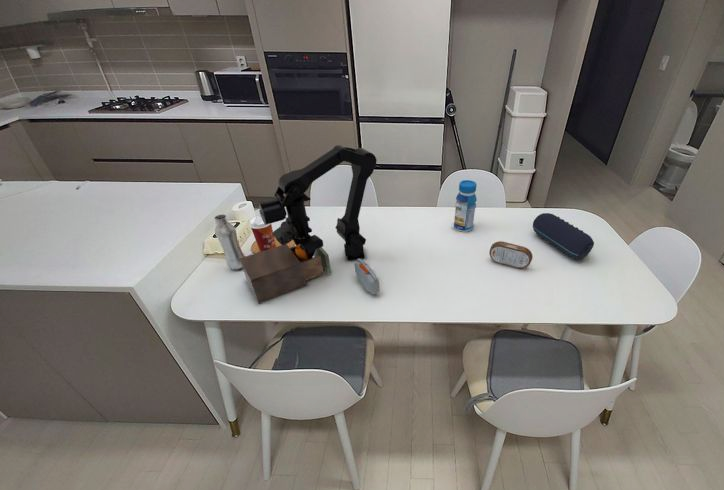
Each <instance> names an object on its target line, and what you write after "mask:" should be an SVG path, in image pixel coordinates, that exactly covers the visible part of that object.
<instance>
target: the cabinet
mask: <svg viewBox="0 0 724 490" xmlns="http://www.w3.org/2000/svg"><path fill="white" fill-rule="evenodd" d="M290 248H291V247H289V245H288V244H285V245H281V244H280V245H278V246H276V247H275V248H271V249H268V250H265V251H262V252H260V251H259V252H255V253H253V254H249V255H246V256H245V257H243V258H239V259H240V262H241V265H242V268H241V269H242V270H243V273H244V276H245V279H246V282H247V284H248V286H249V287H250V289H251V292H252V293H253V296H254V298H255V299H256V302H257V304H262V303H265V302H267V301H269V300H272V299H276V298H278V297H281V296H282V295H285V294H288V293H291V292H295V291H296V290H299V289H302V288H304V287H306V286H307V285H306V280H305V279H304V275H303V271H302V266H301V263H300V261H299V260H298V259H297V257H296V256H295V255H294V253H293V252H292V251H291V249H290Z"/></svg>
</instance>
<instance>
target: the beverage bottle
mask: <svg viewBox="0 0 724 490" xmlns="http://www.w3.org/2000/svg"><path fill="white" fill-rule="evenodd" d="M477 186H478V185H477V182H476V181H474V180H471V179H463V180H461V181H459V183H458V191H459V192H458V194H457V195H456V197H455V203H454V206H455V209H454V222H453V228H454V229H455V230H456V231H459V232H463V233H464V232H466V233H467V232H471V230H473V228H474V220H475V212H476V208H477V203H476V202H477V196H476V191H477Z"/></svg>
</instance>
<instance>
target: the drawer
mask: <svg viewBox="0 0 724 490" xmlns="http://www.w3.org/2000/svg"><path fill="white" fill-rule="evenodd" d="M296 247H297V246H296V245H293V246H290V247H289V248H290V249H291V251H292V252H293V253H294V255H295V256H296V257H297V255H296V253H295V250H296ZM297 259H298V260H299V261H300V263H301V266H302V271H303V275H304V279H305V281H309V280H311V279H314V278H316V277H319V276H322V275H324V271H325V272H326V273H327V274H328V275H329V274H332V268H331V263H330V256H329V253H328V252H326V250H325V249H324V248H323V247H321V248H318V249H316V250H315V252H314V256H313V258H311V259H308V260H301V259H299V258H298V257H297Z"/></svg>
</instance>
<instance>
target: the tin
mask: <svg viewBox="0 0 724 490" xmlns="http://www.w3.org/2000/svg"><path fill="white" fill-rule="evenodd" d="M489 257H490V259H491V260H492V261H493V262H495V263H496V264H500V265H503V266H508V267H512V268H515V269H526V268H528V267H529V266H530V264H531V263H532V261H533V257H534V255H533V253H532V251H531V250H530V249H529V248H528V247H526V246H523V245H519V244H515V243H510V242H506V241H501V240H500V241H496V242H493V243H492V244H491V245H490V248H489Z"/></svg>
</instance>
